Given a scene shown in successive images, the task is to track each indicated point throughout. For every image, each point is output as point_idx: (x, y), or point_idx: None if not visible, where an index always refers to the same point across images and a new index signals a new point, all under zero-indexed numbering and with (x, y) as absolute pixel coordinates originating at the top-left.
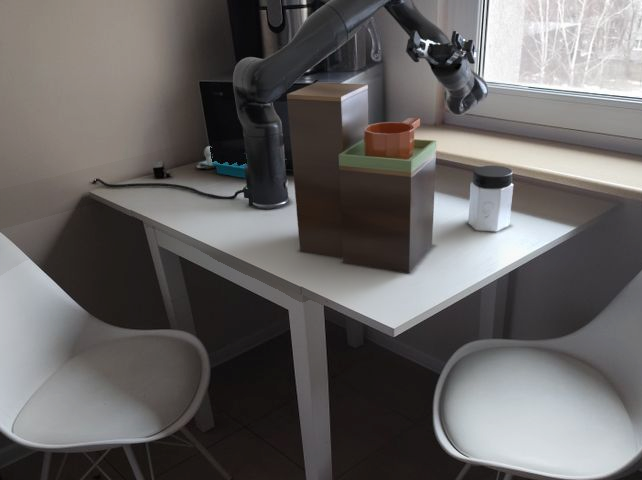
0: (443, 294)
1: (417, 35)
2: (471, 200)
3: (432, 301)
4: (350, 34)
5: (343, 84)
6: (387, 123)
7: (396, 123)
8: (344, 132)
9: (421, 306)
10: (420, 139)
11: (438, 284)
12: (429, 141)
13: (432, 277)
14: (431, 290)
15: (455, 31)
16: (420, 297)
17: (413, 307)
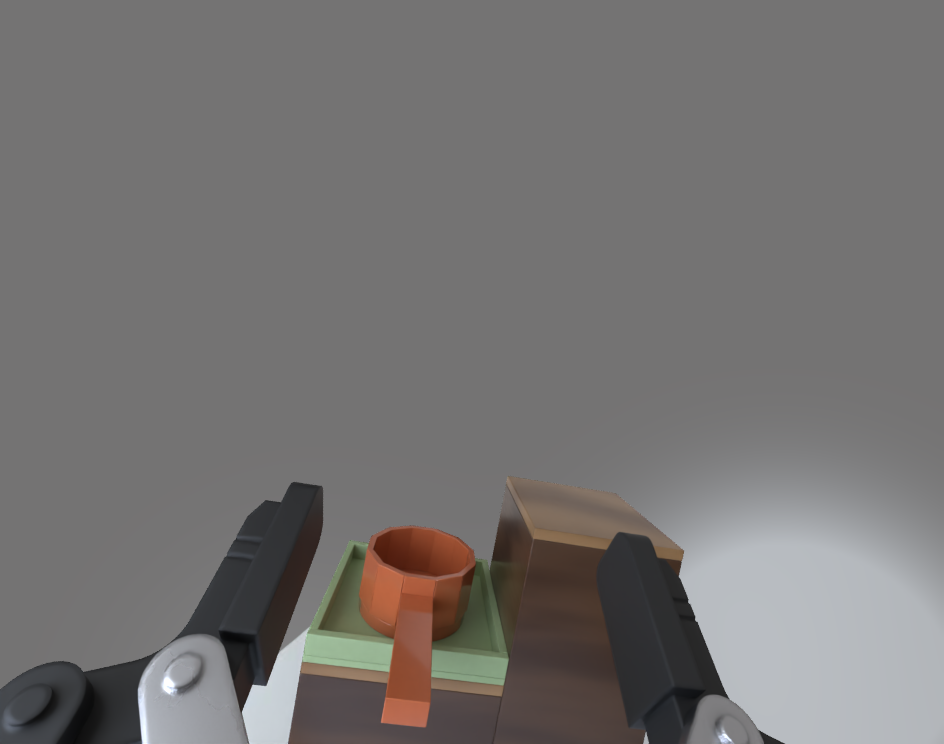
0: (252, 688)
1: (634, 593)
2: None
3: (272, 669)
4: None
5: (593, 530)
6: (442, 577)
7: (420, 576)
8: (497, 542)
9: (289, 655)
10: (354, 638)
11: (257, 716)
12: (326, 631)
13: (267, 739)
14: (272, 696)
15: (301, 483)
16: (290, 675)
17: (300, 652)
